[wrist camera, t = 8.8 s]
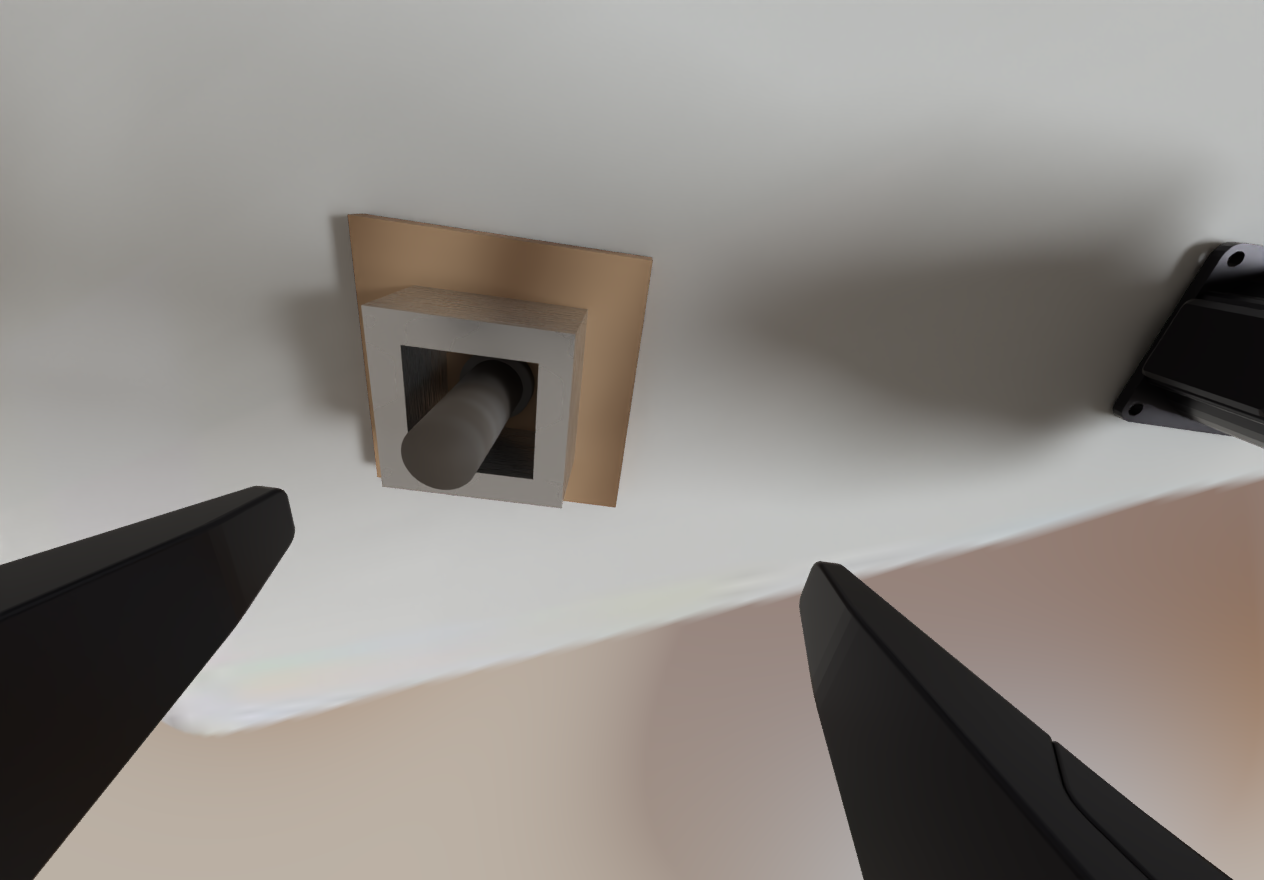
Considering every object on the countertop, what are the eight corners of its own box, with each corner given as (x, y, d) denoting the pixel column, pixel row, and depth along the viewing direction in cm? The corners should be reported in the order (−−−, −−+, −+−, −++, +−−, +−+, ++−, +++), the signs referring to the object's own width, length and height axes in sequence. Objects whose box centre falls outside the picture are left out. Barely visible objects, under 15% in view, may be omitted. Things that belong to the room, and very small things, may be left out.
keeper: (651, 257, 17) (657, 291, 11) (616, 494, 21) (606, 616, 15) (363, 213, 16) (192, 222, 10) (388, 465, 21) (280, 578, 15)
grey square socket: (588, 309, 17) (575, 334, 14) (574, 458, 19) (561, 508, 16) (414, 285, 17) (360, 304, 13) (424, 439, 19) (382, 486, 16)
